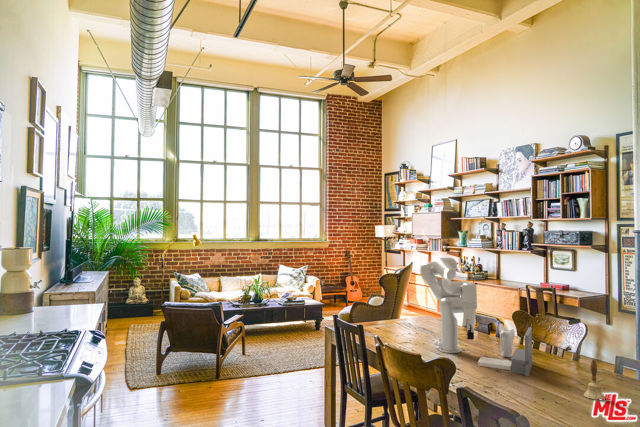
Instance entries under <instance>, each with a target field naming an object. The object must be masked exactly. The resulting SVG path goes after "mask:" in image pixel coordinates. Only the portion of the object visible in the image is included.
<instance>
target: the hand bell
mask: <svg viewBox="0 0 640 427" xmlns="http://www.w3.org/2000/svg"><path fill="white" fill-rule="evenodd" d="M589 369H590V372H591V382H589V383H588V384H587V390H586V391H585V392H584V393H583V396H584V397H585V398H586V397H587V398H586V399H589V398H592V399H605V397H606V396H605V395H604V394H603V392H602V389H601V388H602V387H601V385H600V384H599V383H597V373H598V364H597V361H596V359H592V360H591V363H590V368H589ZM592 399H591V400H592Z"/></svg>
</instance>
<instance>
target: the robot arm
mask: <svg viewBox="0 0 640 427" xmlns="http://www.w3.org/2000/svg"><path fill="white" fill-rule="evenodd" d="M457 268H458V263H457V261H456V259H455V258H453V257H438V258H435V259H434V261H426V262H424V263H422V264H421V265H420V270H419V271H420V275H421V278H422V279H423V281H424V282H425V283H426V284H427V286H428V287H429V289H430V290H431V292H432V294H433V295H434V297H435V299H437V300H438V301H439V302H438V306H439V312H440V341H433V342H434V346H438V351H440V352H442V353H446V354H458V353H460V352H461V350H462V349H461V348H459V346H458V345H459V344H458V343H459V338H458V336H459V332H458V331H459V330H458V329H459V328H458V319H457V317H456V316H455V314H463V319H462V320H463V323H462V324H463V327H465V328H466V332H467V333H466V336H467V337H466V339H467V340H472V341H473V340H475V332H474V327H475V326H476V323H477V322H476V320H477V318H476V316H477V315H476V310H477V309H478V296H477V295H478V294H477V290H478V289H477V284H476V283H473V282H469V281H466V280H465V281H462V280H458V281H457V280H456V281H453V279H454V278H455V277H456V275H457V272H456V270H457ZM437 275H438V276H439V275H440V276H441V278H439V277H438V276H437Z"/></svg>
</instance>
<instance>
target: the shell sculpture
mask: <svg viewBox="0 0 640 427" xmlns="http://www.w3.org/2000/svg"><path fill="white" fill-rule="evenodd" d="M498 333H499V348H500V355H501V356H502V357H504V358H511V357H512V355H513V347H514V346H513V345H514V340H515V336H516V332H515V329H514V328H513V329H510V330H509V329H507V328H506V326H505V325H504V324H503V323H499V324H498Z"/></svg>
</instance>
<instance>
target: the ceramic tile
mask: <svg viewBox="0 0 640 427" xmlns="http://www.w3.org/2000/svg"><path fill="white" fill-rule="evenodd" d="M477 366H479V367H486V368H493V369H500V370H507V371H512V366H511V360H508V359H499V358H492V357H487V356H486V357H485V356H480V358H479V360H478V361H477Z"/></svg>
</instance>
